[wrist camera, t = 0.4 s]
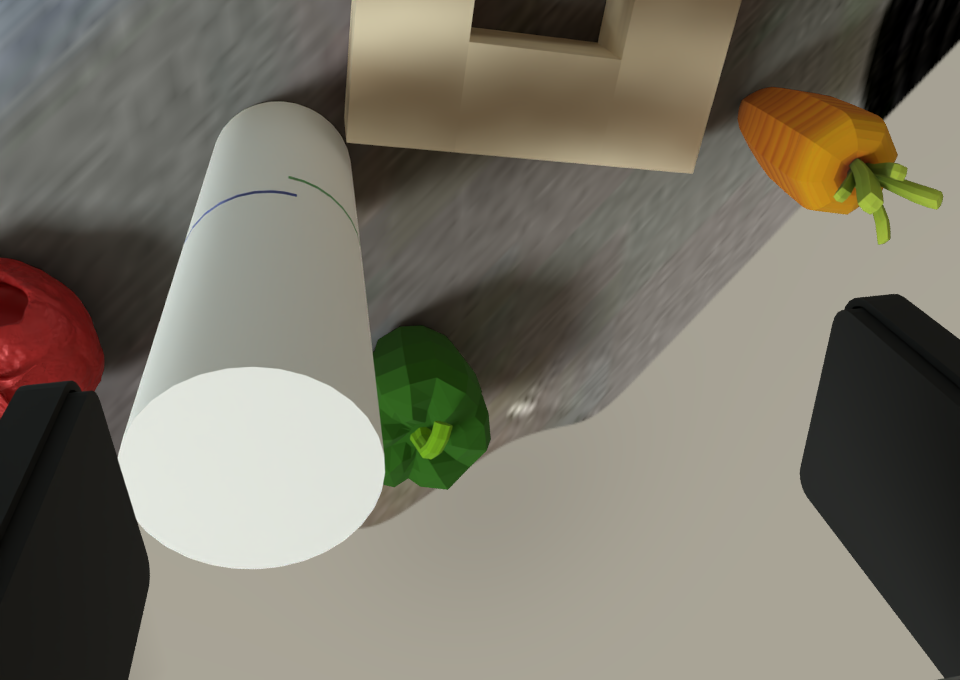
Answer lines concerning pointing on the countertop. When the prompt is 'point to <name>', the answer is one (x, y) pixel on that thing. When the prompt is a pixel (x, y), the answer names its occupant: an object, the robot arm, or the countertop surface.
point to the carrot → (827, 153)
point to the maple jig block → (538, 83)
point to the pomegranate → (43, 333)
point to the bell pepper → (427, 408)
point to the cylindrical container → (262, 358)
